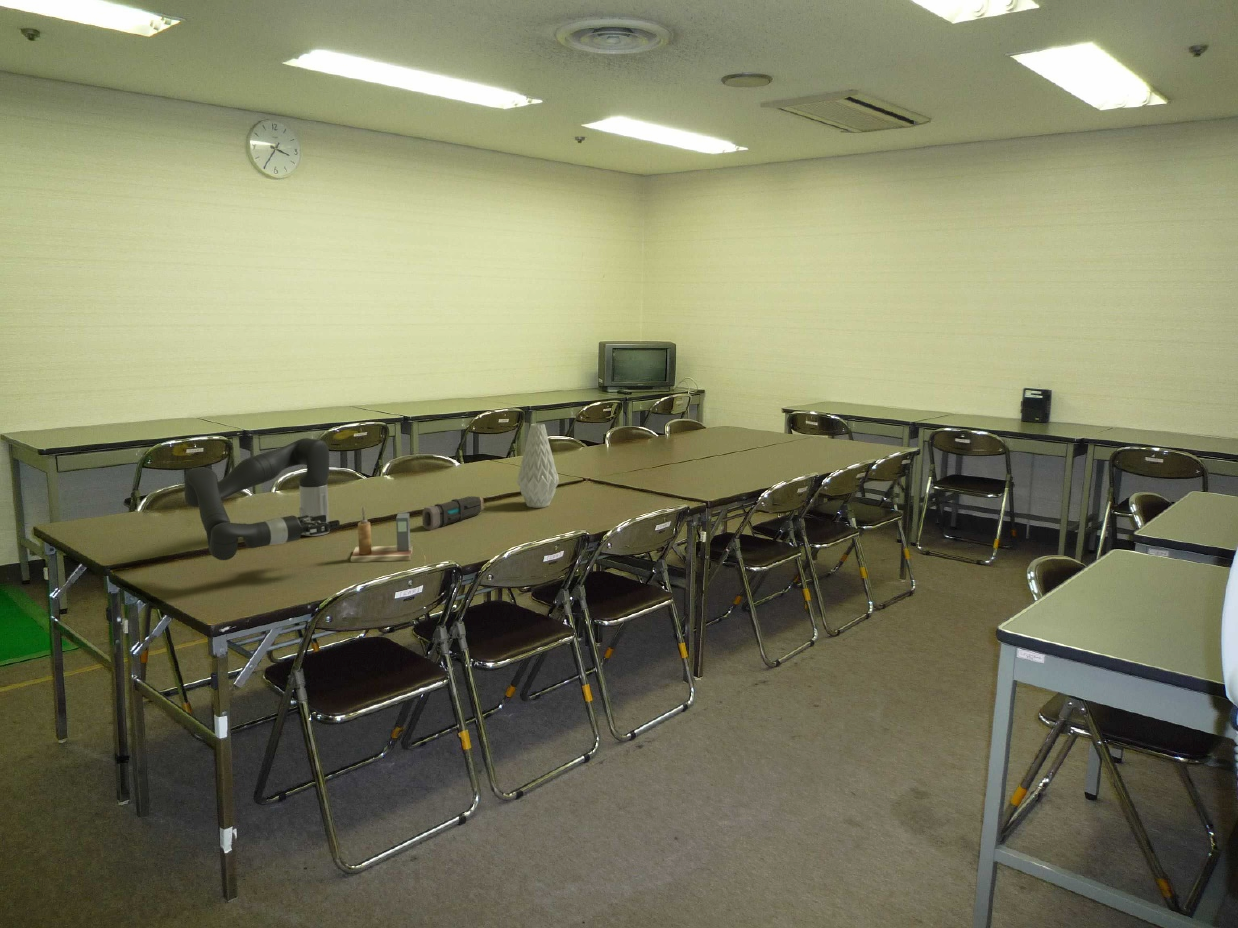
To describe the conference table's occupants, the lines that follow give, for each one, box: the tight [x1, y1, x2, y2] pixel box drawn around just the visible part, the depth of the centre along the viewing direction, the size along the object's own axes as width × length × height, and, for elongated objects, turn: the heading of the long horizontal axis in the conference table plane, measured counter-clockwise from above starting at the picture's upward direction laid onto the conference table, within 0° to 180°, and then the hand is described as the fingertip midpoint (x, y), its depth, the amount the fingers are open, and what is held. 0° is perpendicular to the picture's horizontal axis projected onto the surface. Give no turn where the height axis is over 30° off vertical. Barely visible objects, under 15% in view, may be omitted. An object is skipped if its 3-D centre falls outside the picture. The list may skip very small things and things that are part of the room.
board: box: [350, 544, 414, 563], centre depth 286 cm, size 18×12×2 cm, turn 99°
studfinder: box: [395, 512, 411, 551], centre depth 288 cm, size 4×6×11 cm, turn 9°
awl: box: [357, 506, 372, 555], centre depth 282 cm, size 4×4×15 cm
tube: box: [421, 495, 485, 531], centre depth 331 cm, size 11×7×30 cm
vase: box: [516, 423, 560, 509], centre depth 355 cm, size 17×17×33 cm
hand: (332, 520), depth 273 cm, fingers open, 8 cm apart
